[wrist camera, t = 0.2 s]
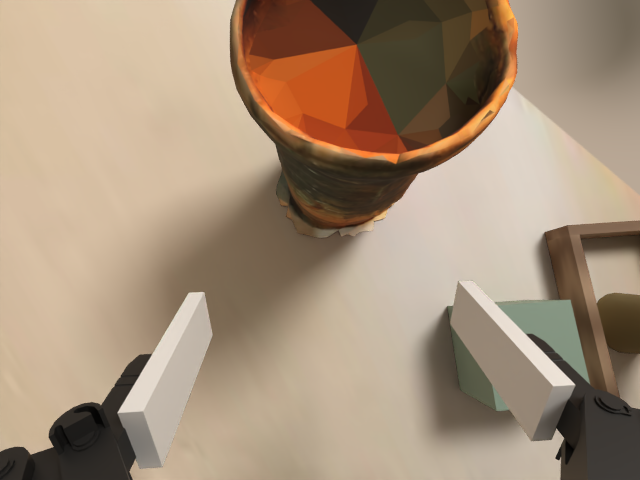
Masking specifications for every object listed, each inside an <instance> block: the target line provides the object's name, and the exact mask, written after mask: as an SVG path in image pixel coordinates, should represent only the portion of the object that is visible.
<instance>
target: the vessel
mask: <svg viewBox="0 0 640 480" xmlns="http://www.w3.org/2000/svg"><path fill="white" fill-rule="evenodd" d="M517 38H518V25H517V21H516V19H515V17H514V15H513V12H512V10H511V8H510V5H509V1H508V0H236V2H235V6H234V9H233V12H232V16H231V19H230V62H231V68H232V74H233V77H234V81H235V85H236V89H237V91H238V93H239V95H240V97H241V99H242V101H243V103H244V105H245V106H246V108H247V110H248V112H249V114H250V115H251V117H252V118H253V119H254V120H255V121H256V123H257V124H258V125H259V126H260V127H261V129H262V130H263V131H264V132H265V133H266V134H267V136H268V137H269V138H270V139H271V140H272V141H273V142H274V143H275V145H276V149H277V152H278V156H279V160H280V162H281V166H282V173H281V176H280V179H279V181H278V184H277V190H276V194H277V196H278V198H279V201H280V205H281V206H288V210H287V215H286V217H288V218H290V219H292V220H293V223H294V226H295V228H296V230H297V233H299V234H305V235H309V236H312V237H317V238H325V237H328V236H330V235H332V234H333V233H335V232H336V231H338V230H339V232H340V235H341V237H342V236H344V235H347V234H349V235H351V236H355V235H357V234H358V232H363V231H373V228H374V221H376V220H380V219H383V218H385V216H386V213H387V209H388V208H389V207H390V206H391V205H393V204H394V203H395V202H397V201H398V200H399V199H401V198H402V196H403V195H404V193H405V192H406V190H407V189H408V187H409V186H410V184H411V183H412V182H413V180H414V179H415V178H416V176H417V175H418V173H421V172H424V171H427V170H429V169H431V168H434V167H436V166H438V165H440V164H442V163H444V162H446V161H447V160H449V159H451V158H452V157H454V156H456V155H457V154H459V153H460V152H461V151H463V150H464V149H465V148H466V147H468V146H469V145H470V144H471V143H472V142H473V141H474V140H475V139H476V138H477V137H478V136H479V135H480V134H481V133H482V132H483V131H484V130H485V129H486V128H487V127H488V125H489V124H490V123H491V122H492V121H493V119H494V118H495V117H496V115H497V114H498V112H499V110H500V108H501V107H502V106H503V104H504V103H505V101H506V99H507V96H508V93H509V91H510V89H511V87H512V86H513V83H514V81H515V77H516V74H517V55H516V50H517Z"/></svg>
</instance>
